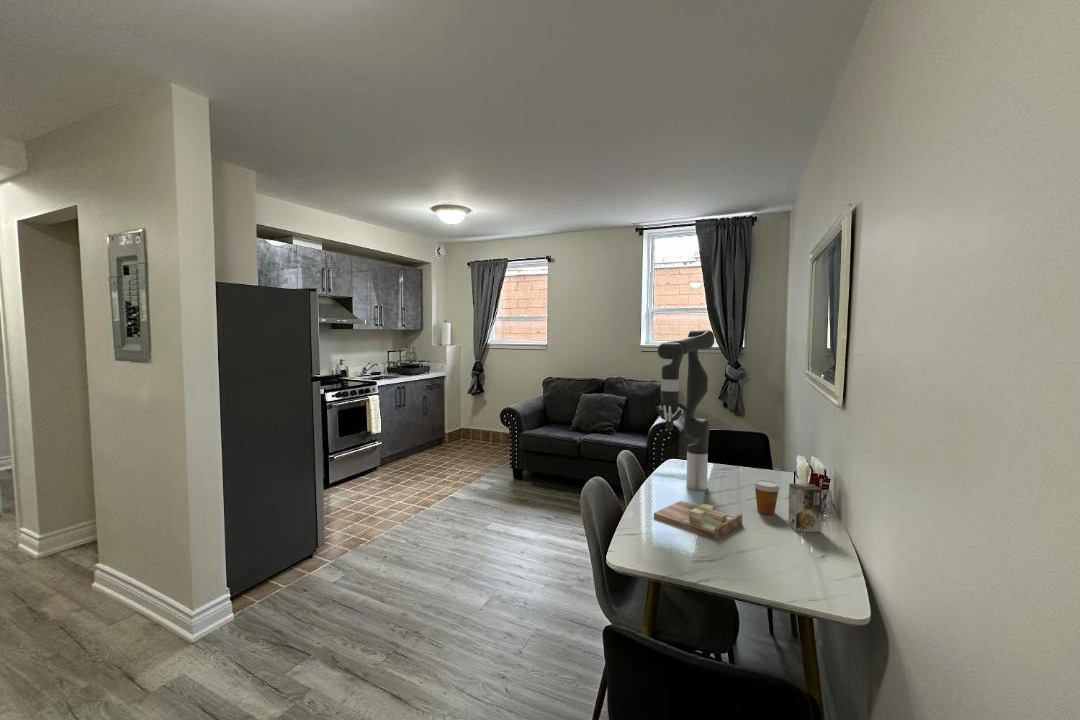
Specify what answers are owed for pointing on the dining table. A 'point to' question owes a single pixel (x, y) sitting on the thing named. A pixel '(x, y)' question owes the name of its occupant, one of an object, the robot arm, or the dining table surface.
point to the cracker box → (805, 507)
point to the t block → (707, 515)
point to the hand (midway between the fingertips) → (669, 429)
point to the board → (680, 518)
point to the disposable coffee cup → (766, 496)
